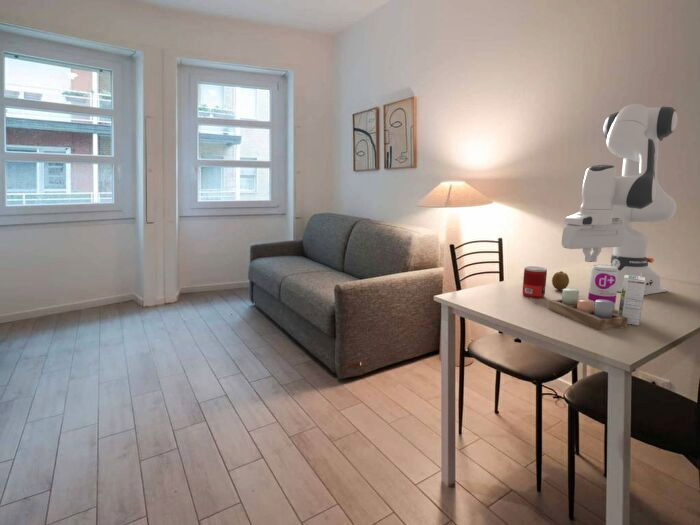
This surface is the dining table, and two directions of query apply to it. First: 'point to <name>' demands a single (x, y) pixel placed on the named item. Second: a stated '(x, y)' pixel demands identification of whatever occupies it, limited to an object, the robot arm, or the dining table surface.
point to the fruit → (560, 280)
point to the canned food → (534, 281)
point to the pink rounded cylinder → (585, 305)
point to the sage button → (570, 296)
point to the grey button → (603, 308)
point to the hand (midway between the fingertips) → (590, 261)
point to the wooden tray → (587, 316)
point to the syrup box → (632, 298)
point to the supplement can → (603, 283)
